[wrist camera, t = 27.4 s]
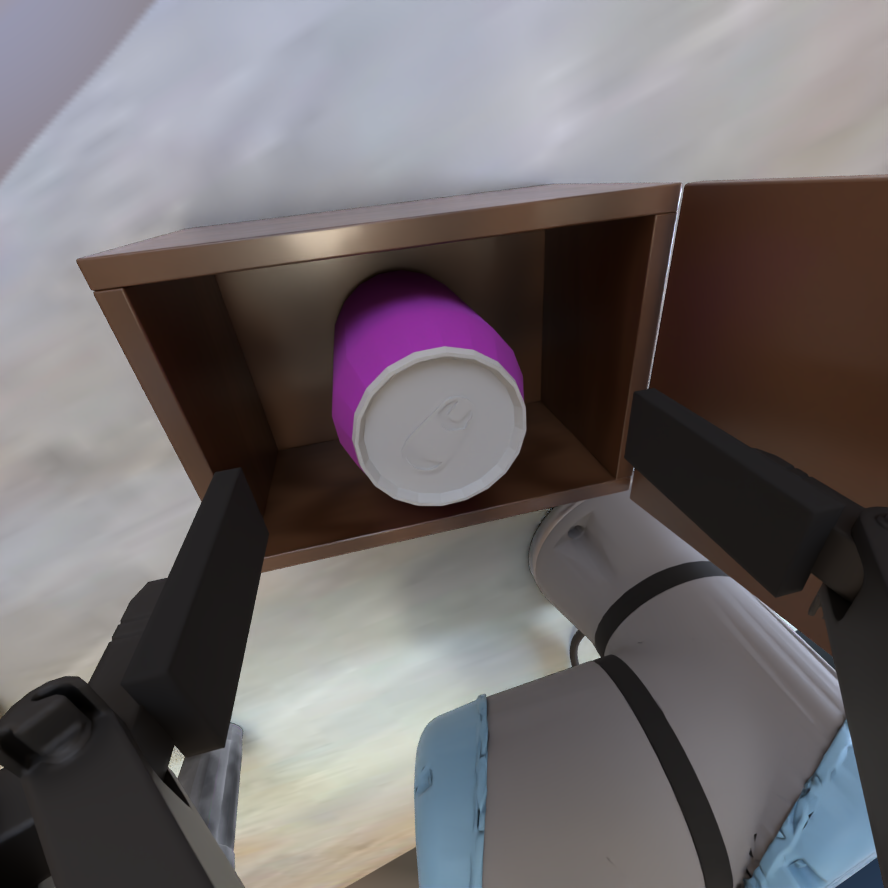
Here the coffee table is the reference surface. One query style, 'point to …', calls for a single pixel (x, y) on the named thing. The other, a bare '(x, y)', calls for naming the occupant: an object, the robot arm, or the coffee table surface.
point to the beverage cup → (216, 788)
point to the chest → (312, 344)
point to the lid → (781, 342)
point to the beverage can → (424, 391)
